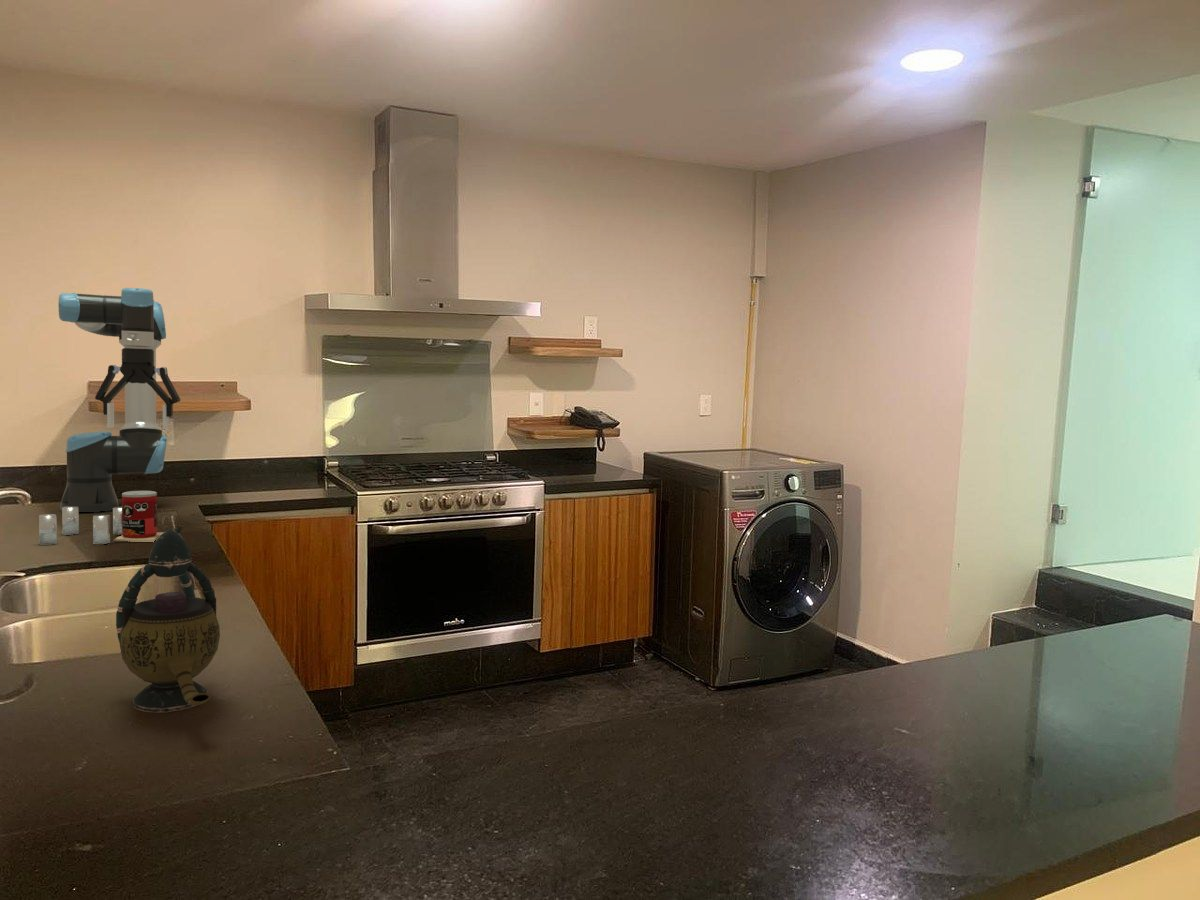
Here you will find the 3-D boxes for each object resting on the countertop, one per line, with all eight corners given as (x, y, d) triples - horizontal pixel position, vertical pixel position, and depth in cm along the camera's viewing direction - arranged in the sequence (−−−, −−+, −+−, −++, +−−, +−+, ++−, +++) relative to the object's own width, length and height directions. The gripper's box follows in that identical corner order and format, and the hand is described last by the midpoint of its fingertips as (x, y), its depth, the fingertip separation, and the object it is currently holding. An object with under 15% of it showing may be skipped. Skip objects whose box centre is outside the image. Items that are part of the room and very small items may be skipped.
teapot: (202, 672, 130) (201, 514, 128) (253, 730, 110) (254, 544, 108) (108, 688, 122) (106, 520, 120) (145, 752, 102) (144, 553, 101)
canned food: (114, 536, 223) (114, 493, 222) (139, 531, 230) (139, 489, 229) (139, 539, 221) (139, 495, 220) (164, 534, 228) (163, 491, 227)
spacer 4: (116, 533, 232) (115, 506, 231) (130, 533, 232) (130, 506, 232) (110, 535, 228) (110, 508, 228) (126, 535, 229) (125, 508, 228)
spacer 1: (43, 542, 217) (43, 514, 216) (59, 542, 218) (59, 514, 217) (36, 545, 213) (36, 516, 213) (53, 545, 214) (52, 516, 213)
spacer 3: (96, 542, 219) (96, 514, 218) (112, 542, 220) (112, 514, 219) (90, 545, 215) (90, 516, 215) (106, 545, 216) (106, 516, 216)
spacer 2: (66, 532, 230) (65, 506, 229) (81, 533, 230) (80, 506, 230) (60, 535, 226) (59, 508, 226) (75, 535, 227) (75, 508, 226)
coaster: (127, 535, 230) (127, 532, 230) (165, 535, 231) (165, 532, 231) (113, 542, 220) (113, 539, 220) (152, 542, 221) (152, 539, 221)
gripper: (80, 345, 228) (81, 428, 230) (184, 350, 232) (184, 431, 234) (92, 345, 235) (93, 425, 237) (192, 350, 239) (192, 428, 242)
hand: (138, 428), depth 236 cm, fingers open, 13 cm apart
